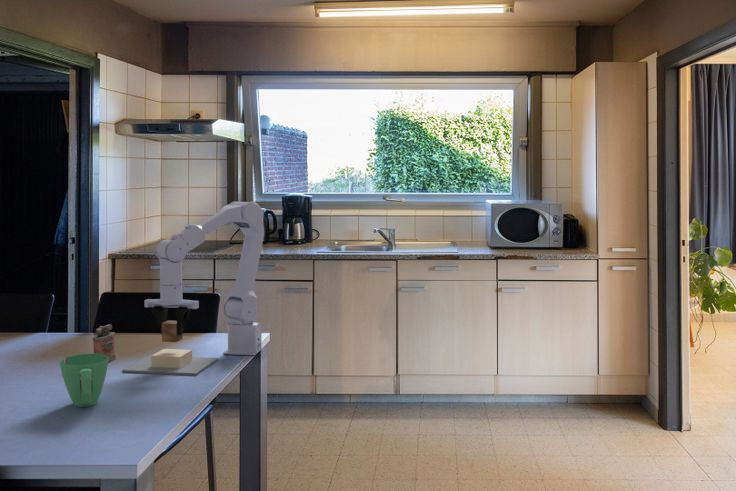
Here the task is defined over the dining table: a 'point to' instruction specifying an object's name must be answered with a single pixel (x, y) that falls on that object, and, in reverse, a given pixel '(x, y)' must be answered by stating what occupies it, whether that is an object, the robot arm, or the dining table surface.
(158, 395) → the dining table surface
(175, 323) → the walnut block
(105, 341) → the lighter
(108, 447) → the dining table surface
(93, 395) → the mug
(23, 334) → the dining table surface
